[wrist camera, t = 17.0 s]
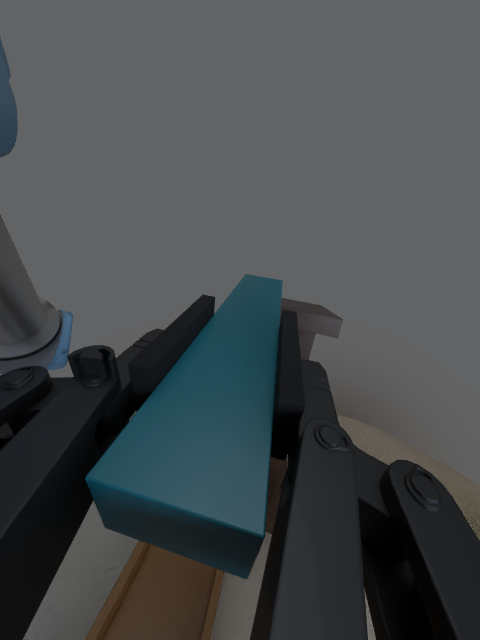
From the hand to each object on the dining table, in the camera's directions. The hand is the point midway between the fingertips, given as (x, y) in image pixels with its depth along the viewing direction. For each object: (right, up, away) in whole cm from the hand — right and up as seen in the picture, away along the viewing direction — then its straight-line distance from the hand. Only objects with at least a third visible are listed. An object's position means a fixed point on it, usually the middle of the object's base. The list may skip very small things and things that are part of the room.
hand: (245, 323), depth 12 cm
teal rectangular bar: (0, -2, +2) cm, 2 cm away
